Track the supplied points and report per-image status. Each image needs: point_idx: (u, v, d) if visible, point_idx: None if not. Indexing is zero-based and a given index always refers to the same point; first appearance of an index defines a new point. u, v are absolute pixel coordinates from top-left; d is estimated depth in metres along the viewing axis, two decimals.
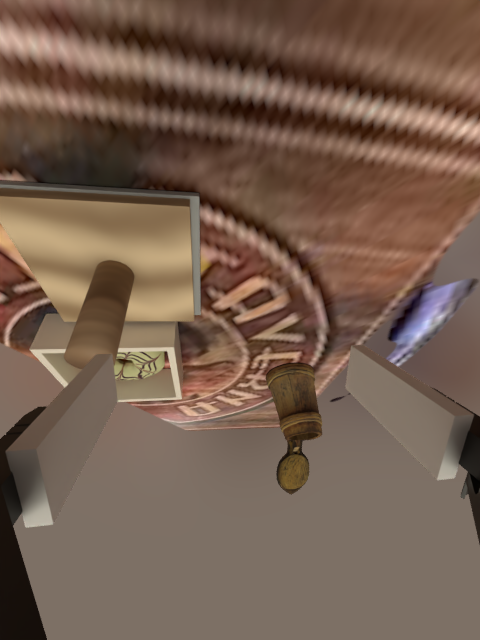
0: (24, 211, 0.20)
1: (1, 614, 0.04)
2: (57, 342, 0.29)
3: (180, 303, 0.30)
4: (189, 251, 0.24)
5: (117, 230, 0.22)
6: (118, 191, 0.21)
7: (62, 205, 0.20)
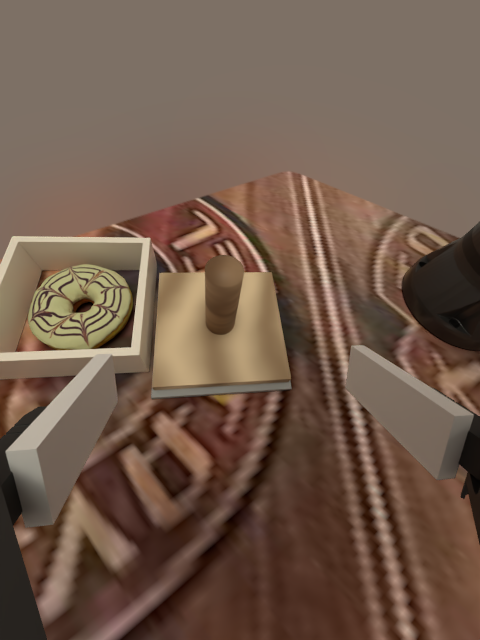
0: (265, 285, 0.34)
1: (1, 614, 0.04)
2: (150, 258, 0.32)
3: (183, 372, 0.28)
4: (251, 379, 0.28)
5: (262, 330, 0.31)
6: None
7: (273, 304, 0.33)
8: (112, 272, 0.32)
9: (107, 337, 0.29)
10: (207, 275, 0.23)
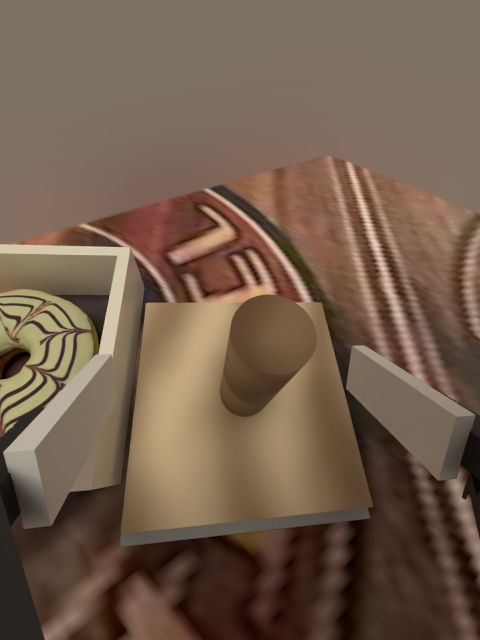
0: (314, 325, 0.22)
1: None
2: (129, 282, 0.19)
3: (180, 497, 0.15)
4: (304, 510, 0.16)
5: (314, 406, 0.19)
6: None
7: (330, 358, 0.20)
8: (66, 304, 0.19)
9: None
10: (236, 345, 0.10)
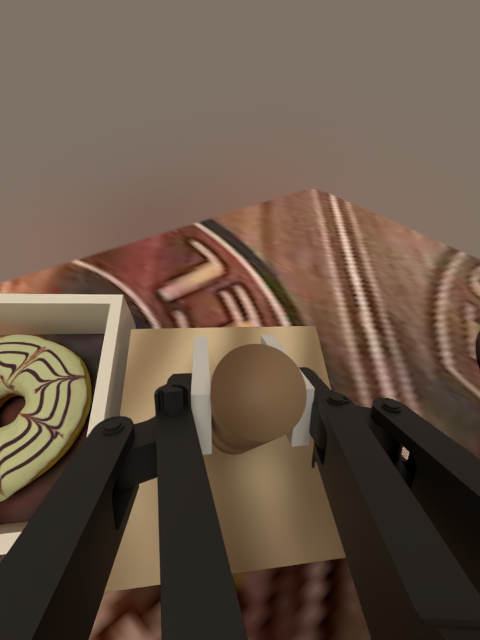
0: (308, 351, 0.21)
1: (197, 512, 0.06)
2: (121, 328, 0.20)
3: None
4: (297, 560, 0.15)
5: None
6: None
7: None
8: (60, 349, 0.20)
9: (40, 472, 0.17)
10: (217, 407, 0.09)
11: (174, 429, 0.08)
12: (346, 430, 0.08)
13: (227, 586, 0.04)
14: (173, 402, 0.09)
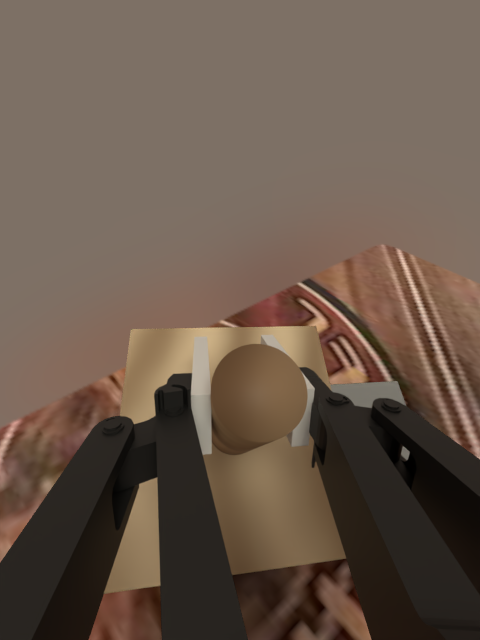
0: (308, 351, 0.21)
1: (198, 512, 0.06)
2: None
3: None
4: (297, 561, 0.14)
5: None
6: None
7: None
8: None
9: None
10: (217, 407, 0.09)
11: (174, 429, 0.08)
12: (346, 430, 0.08)
13: (227, 586, 0.04)
14: (173, 402, 0.09)
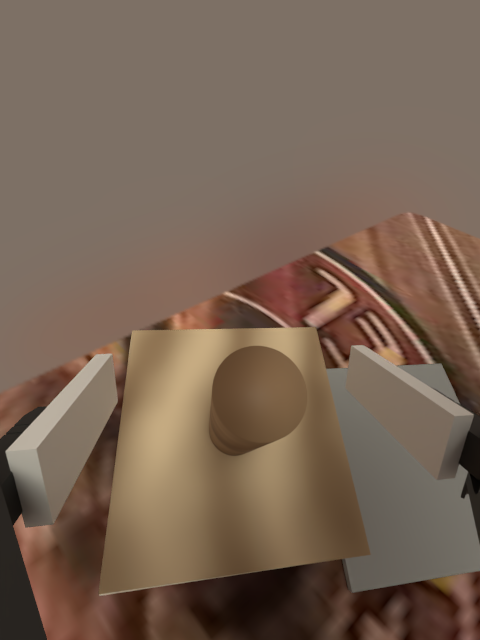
0: (308, 352, 0.21)
1: (1, 614, 0.04)
2: None
3: (164, 549, 0.14)
4: (297, 561, 0.15)
5: (308, 443, 0.18)
6: None
7: (324, 389, 0.20)
8: None
9: None
10: (219, 408, 0.09)
11: None
12: None
13: None
14: None
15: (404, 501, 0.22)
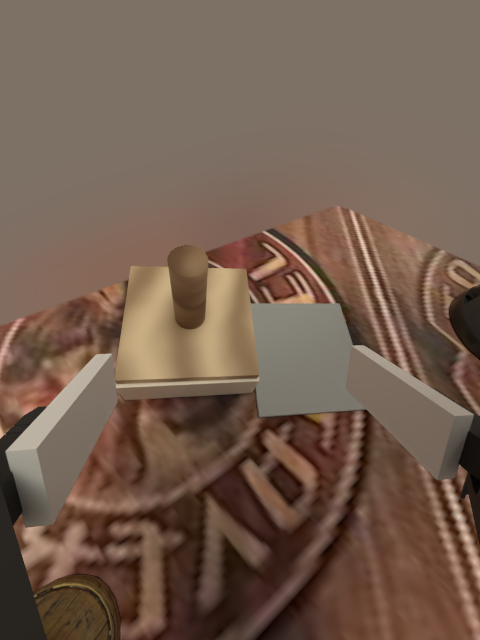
0: (239, 282, 0.34)
1: (1, 614, 0.04)
2: None
3: (148, 365, 0.27)
4: (219, 375, 0.28)
5: (232, 326, 0.31)
6: None
7: (246, 301, 0.33)
8: None
9: None
10: (169, 264, 0.22)
11: None
12: None
13: None
14: None
15: (299, 376, 0.35)
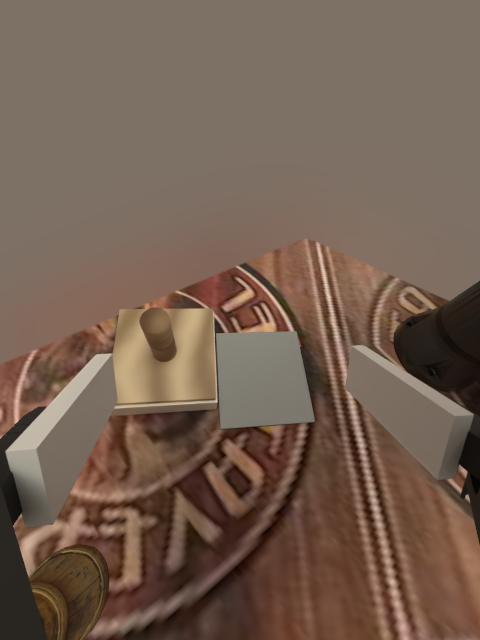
0: (206, 320, 0.43)
1: (1, 614, 0.04)
2: None
3: (130, 392, 0.36)
4: (184, 398, 0.36)
5: (198, 358, 0.39)
6: (306, 383, 0.45)
7: (210, 336, 0.41)
8: None
9: None
10: (140, 324, 0.31)
11: None
12: None
13: None
14: None
15: (255, 395, 0.43)
